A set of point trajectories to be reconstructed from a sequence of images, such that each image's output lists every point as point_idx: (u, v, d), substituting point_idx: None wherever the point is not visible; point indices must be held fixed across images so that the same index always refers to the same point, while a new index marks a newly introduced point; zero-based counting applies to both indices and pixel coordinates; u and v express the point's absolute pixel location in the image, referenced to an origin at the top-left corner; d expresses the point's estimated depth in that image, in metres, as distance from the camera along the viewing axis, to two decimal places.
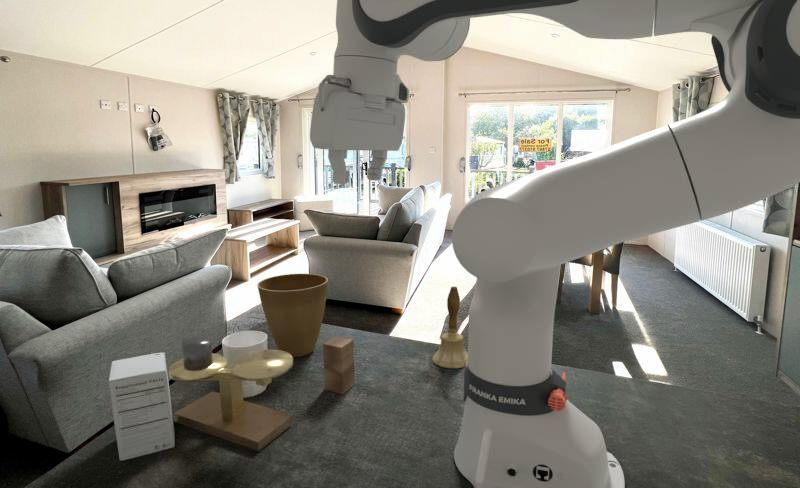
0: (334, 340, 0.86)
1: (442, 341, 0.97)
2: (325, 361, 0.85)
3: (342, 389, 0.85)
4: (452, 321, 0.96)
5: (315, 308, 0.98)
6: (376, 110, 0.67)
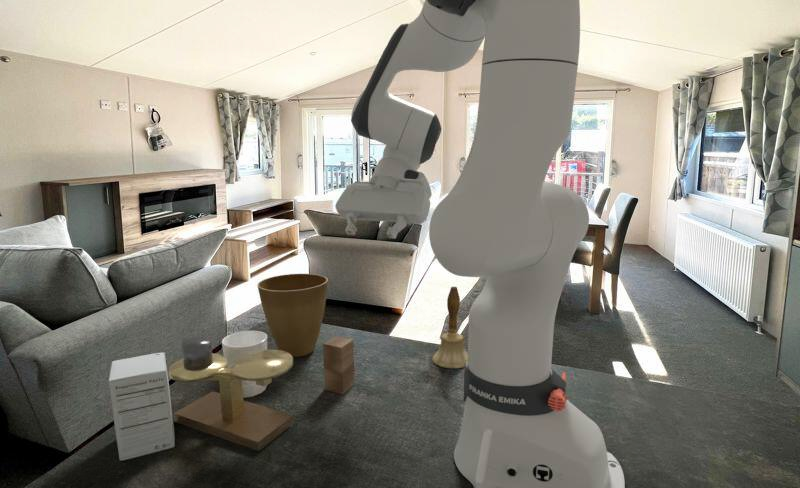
0: (334, 340, 0.86)
1: (442, 341, 0.97)
2: (325, 361, 0.85)
3: (342, 389, 0.85)
4: (452, 321, 0.96)
5: (315, 308, 0.98)
6: (386, 190, 0.97)
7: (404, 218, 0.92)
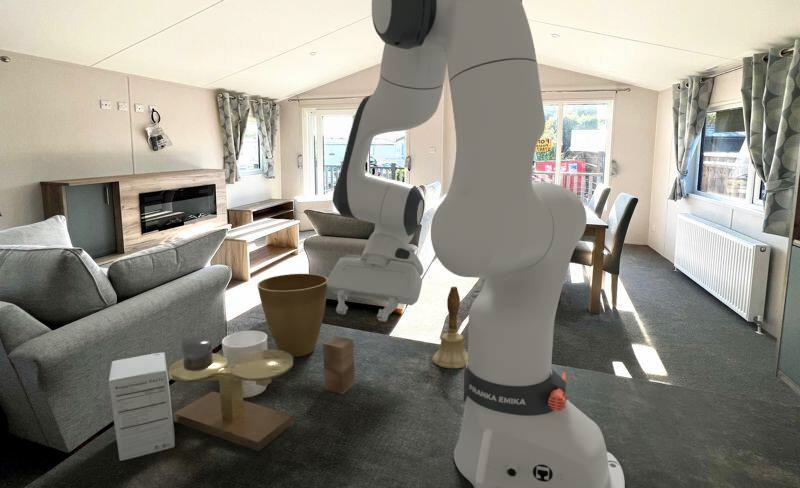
0: (334, 340, 0.86)
1: (442, 341, 0.97)
2: (325, 361, 0.85)
3: (342, 389, 0.85)
4: (452, 321, 0.96)
5: (315, 308, 0.98)
6: (378, 268, 0.96)
7: (395, 300, 0.91)
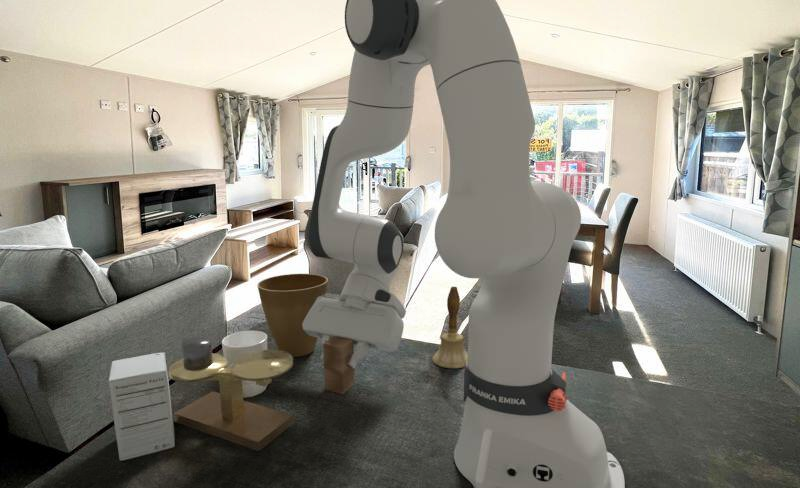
0: (334, 340, 0.86)
1: (442, 341, 0.97)
2: (325, 361, 0.85)
3: (342, 389, 0.85)
4: (452, 321, 0.96)
5: None
6: (356, 310, 0.89)
7: (364, 345, 0.86)
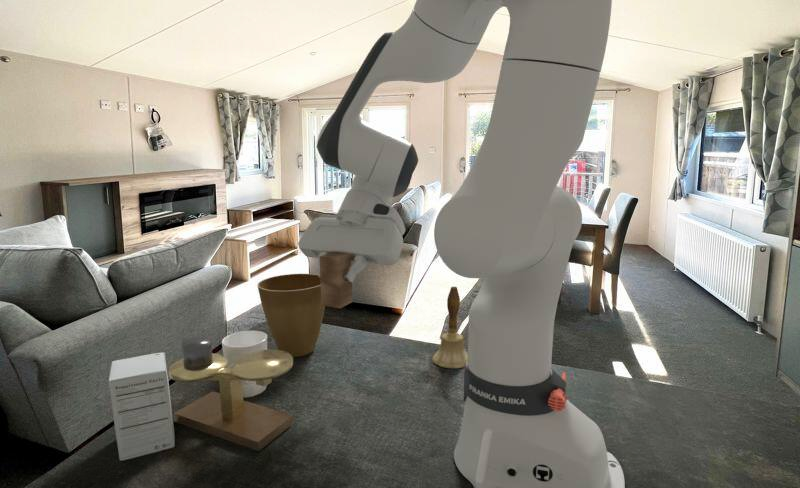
0: (331, 254, 0.83)
1: (442, 341, 0.97)
2: (322, 274, 0.82)
3: (339, 303, 0.82)
4: (452, 321, 0.96)
5: (315, 308, 0.98)
6: (354, 226, 0.86)
7: (362, 259, 0.83)
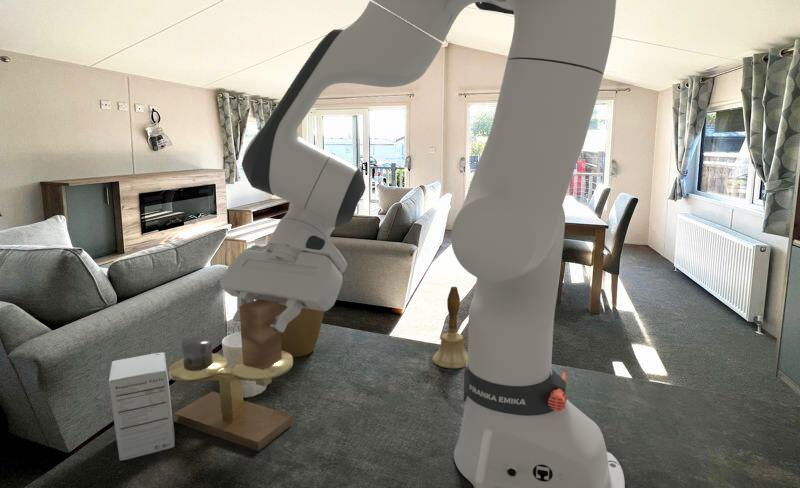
0: (255, 303, 0.70)
1: (442, 341, 0.97)
2: (242, 328, 0.69)
3: (262, 363, 0.68)
4: (452, 321, 0.96)
5: None
6: (285, 262, 0.72)
7: (295, 304, 0.68)
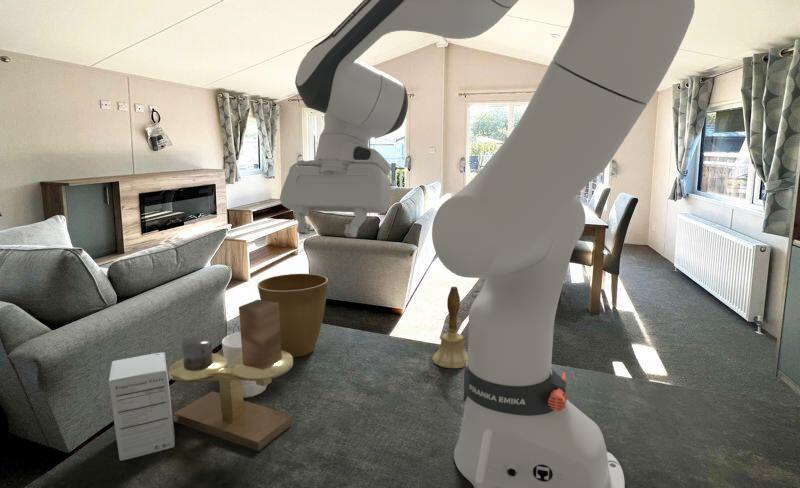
0: (254, 303, 0.69)
1: (442, 341, 0.97)
2: (242, 329, 0.69)
3: (262, 364, 0.68)
4: (452, 321, 0.96)
5: (315, 308, 0.98)
6: (336, 174, 0.80)
7: (362, 211, 0.77)
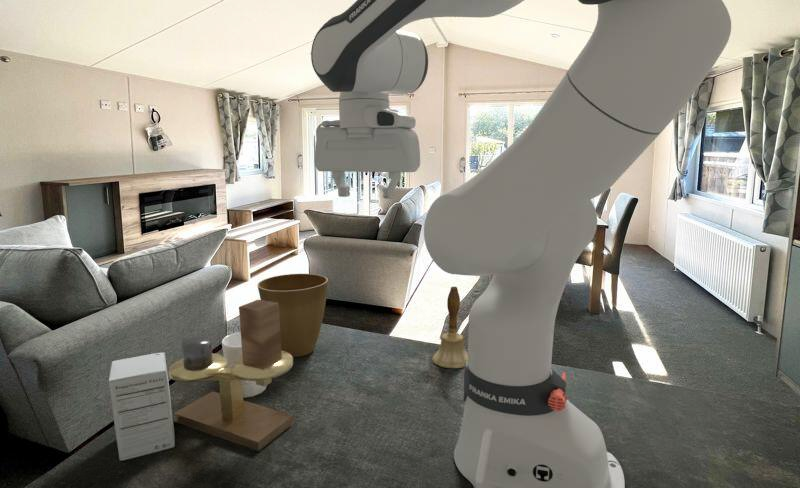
0: (254, 303, 0.69)
1: (442, 341, 0.97)
2: (242, 329, 0.69)
3: (262, 364, 0.68)
4: (452, 321, 0.96)
5: (315, 308, 0.98)
6: (363, 138, 0.81)
7: (396, 174, 0.81)
